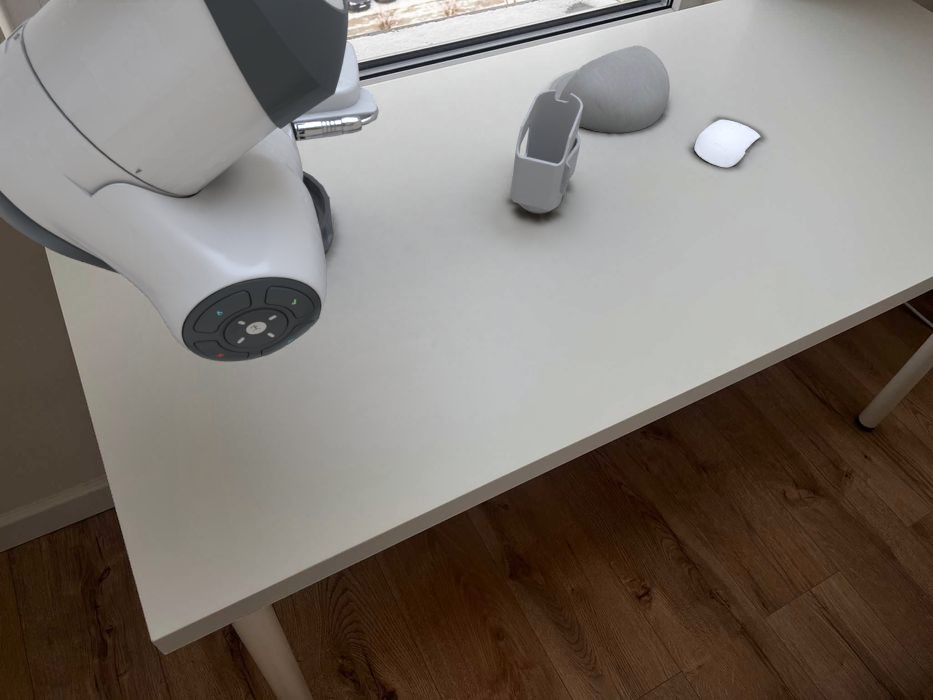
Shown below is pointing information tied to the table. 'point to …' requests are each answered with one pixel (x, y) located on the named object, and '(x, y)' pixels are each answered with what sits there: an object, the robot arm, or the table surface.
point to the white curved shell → (724, 142)
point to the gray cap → (618, 90)
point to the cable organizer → (546, 152)
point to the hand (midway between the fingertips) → (205, 39)
